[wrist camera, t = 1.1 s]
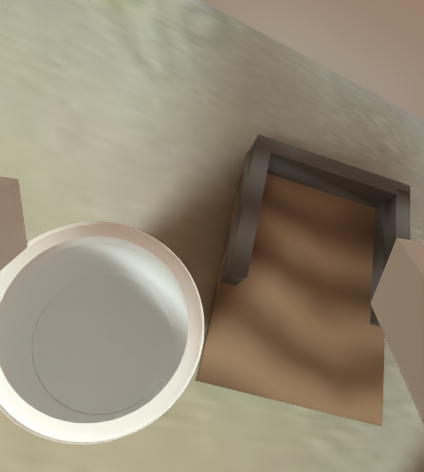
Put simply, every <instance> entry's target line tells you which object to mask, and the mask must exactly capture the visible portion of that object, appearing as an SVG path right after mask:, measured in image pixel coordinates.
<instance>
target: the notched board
mask: <svg viewBox="0 0 424 472" xmlns="http://www.w3.org/2000/svg"><path fill="white" fill-rule="evenodd" d="M397 238H401V239H407V240H410V186H409V185H406V184H403V183H400V182H397V181H394V180H391V179H388V178H385V177H382V176H379V175H376V174H373V173H370V172H367V171H364V170H361V169H359V168H356V167H353V166H350V165H347V164H344V163H341V162H338V161H335V160H332V159H329V158H326V157H323V156H320V155H317V154H314V153H311V152H308V151H305V150H302V149H299V148H296V147H294V146H291V145H288V144H285V143H282V142H279V141H276V140H273V139H270V138H267V137H264V136H261V135H258V136H257V138H256V140H255V142H254V143H253V145H252V147H251V149H250V151H248V153H247V154H246V156H245V161H244V165H243V170H242V174H241V179H240V183H239V188H238V192H237V197H236V201H235V206H234V210H233V215H232V219H231V224H230V228H229V233H228V237H227V242H226V246H225V251H224V255H223V260H222V264H221V269H220V273H219V278H218V282H217V287H216V291H215V296H214V300H213V305H212V309H211V314H210V318H209V323H208V327H207V332H206V336H205V341H204V345H203V350H202V354H201V359H200V363H199V368H198V373H197V377H196V381H200V382H204V383H208V384H212V385H216V386H220V387H224V388H228V389H232V390H237V391H241V392H245V393H249V394H253V395H257V396H261V397H265V398H269V399H273V400H277V401H281V402H285V403H289V404H293V405H297V406H302V407H306V408H310V409H314V410H318V411H322V412H326V413H330V414H334V415H338V416H342V417H346V418H350V419H354V420H358V421H363V422H367V423H371V424H375V425H380V426H382V408H383V371H384V333H383V331H382V329H381V326H380V324H379V322H378V319H377V317H376V315H375V312H374V310H373V308H372V306H371V301H372V298H373V296H374V293H375V291H376V288H377V286H378V283H379V281H380V278H381V276H382V273H383V271H384V269H385V266H386V264H387V261H388V259H389V256H390V254H391V251H392V249H393V246H394V244H395V241H396V239H397Z"/></svg>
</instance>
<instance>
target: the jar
mask: <svg viewBox="0 0 424 472" xmlns="http://www.w3.org/2000/svg"><path fill="white" fill-rule="evenodd" d="M203 339H204V314H203V307H202V302H201V298H200V295H199V292H198V289H197V287H196V284H195V282H194V280H193V278H192V276H191V275H190V273H189V271H188V270H187V268H186V267H185V265H184V264H183V263H182V261H181V260H180V259H179V258H178V257H177V256H176V255H175V254H174V253H173V252H172V251H171V250H170V249H169V248H168V247H167V246H166V245H164V244H163V243H162V242H160V241H159V240H157V239H156V238H154V237H152V236H151V235H149V234H147V233H145V232H143V231H140V230H138V229H135V228H132V227H129V226H126V225H121V224H117V223H110V222H82V223H75V224H70V225H66V226H62V227H59V228H56V229H53V230H50V231H48V232H46V233H43V234H41V235H39V236H37V237H36V238H34V239H32V240H30V241H29V242H27V248H26V249H25V250H24V251H23V252H21V253H20V254H19V255H18V256H17V257H16V258H14V259H13V260H12V261H11V262H10V263H9V264H8V265H6V266H5V267H4V268H3V269H2V270H1V271H0V410H1V411H2V412H3V413H4V414H5V415H6V416H7V417H8V418H9V419H10V420H11V421H13V422H14V423H15V424H17V425H18V426H20V427H21V428H23V429H24V430H26V431H28V432H30V433H32V434H34V435H36V436H39V437H41V438H44V439H47V440H50V441H54V442H59V443H64V444H74V445H90V444H99V443H105V442H110V441H114V440H117V439H120V438H123V437H126V436H128V435H131V434H133V433H135V432H137V431H139V430H141V429H143V428H144V427H146V426H148V425H149V424H151V423H152V422H154V421H155V420H156V419H158V418H159V417H160V416H161V415H163V414H164V413H165V412H166V411H167V410H168V409H169V408H170V407H171V406H172V405H173V404H174V403H175V402H176V400H177V399H178V398H179V397H180V395H181V394H182V393H183V391H184V390H185V388H186V387H187V385H188V383H189V382H190V380H191V378H192V376H193V374H194V372H195V369H196V367H197V364H198V361H199V358H200V355H201V351H202V346H203Z"/></svg>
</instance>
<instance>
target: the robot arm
mask: <svg viewBox="0 0 424 472" xmlns="http://www.w3.org/2000/svg"><path fill="white" fill-rule="evenodd" d="M26 248H27V239H26V232H25V225H24V218H23V211H22V204H21V196H20V189H19V182H18V179H13V178H6V177H0V271H1V270H2V269H3V268H4V267H5V266H6V265H8V264H9V263H10V262H11V261H12V260H13V259H14V258H16V257H17V256H18V255H19V254H20V253H21V252H23V251H24V250H25V249H26ZM371 306H372V308H373V310H374V312H375V315H376V317H377V319H378V322H379V324H380V326H381V329H382V331H383V333H384V335H385V338H386V340H387V342H388V345H389V347H390V349H391V351H392V354H393V356H394V358H395V361H396V363H397V365H398V367H399V370H400V372H401V374H402V377H403V379H404V381H405V383H406V386H407V388H408V390H409V393H410V395H411V397H412V399H413V402H414V404H415V406H416V409H417V411H418V413H419V415H420V418H421V420H422V422H423V425H424V246H423V244H422V243H421V242H420V241H414V240H407V239H401V238H397V239H396V241H395V244H394V246H393V249H392V251H391V254H390V256H389V259H388V261H387V264H386V266H385V269H384V271H383V273H382V276H381V278H380V281H379V283H378V286H377V288H376V291H375V293H374V296H373V298H372V301H371Z"/></svg>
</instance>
